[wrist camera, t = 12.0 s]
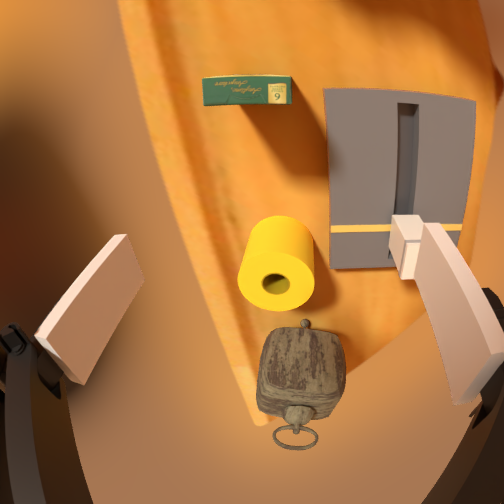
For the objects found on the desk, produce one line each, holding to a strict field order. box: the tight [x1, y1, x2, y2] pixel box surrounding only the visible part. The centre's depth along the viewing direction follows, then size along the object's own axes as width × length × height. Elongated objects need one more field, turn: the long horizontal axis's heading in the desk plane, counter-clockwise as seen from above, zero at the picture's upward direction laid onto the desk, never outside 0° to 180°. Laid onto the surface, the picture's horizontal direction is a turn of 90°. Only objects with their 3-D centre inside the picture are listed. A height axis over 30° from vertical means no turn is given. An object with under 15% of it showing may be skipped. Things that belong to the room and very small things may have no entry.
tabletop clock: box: [256, 319, 346, 450], centre depth 46 cm, size 14×9×25 cm, turn 87°
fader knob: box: [389, 215, 424, 280], centre depth 36 cm, size 5×4×10 cm
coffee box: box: [202, 74, 292, 106], centre depth 28 cm, size 8×3×13 cm, turn 90°
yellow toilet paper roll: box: [238, 216, 314, 311], centre depth 42 cm, size 10×10×9 cm
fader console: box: [323, 88, 476, 269], centre depth 36 cm, size 26×21×3 cm
